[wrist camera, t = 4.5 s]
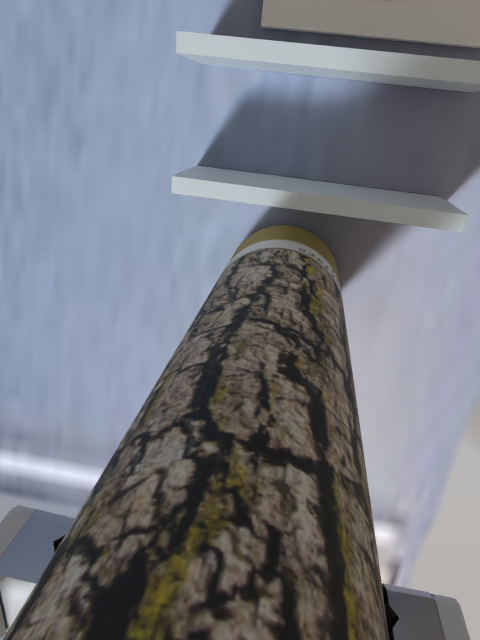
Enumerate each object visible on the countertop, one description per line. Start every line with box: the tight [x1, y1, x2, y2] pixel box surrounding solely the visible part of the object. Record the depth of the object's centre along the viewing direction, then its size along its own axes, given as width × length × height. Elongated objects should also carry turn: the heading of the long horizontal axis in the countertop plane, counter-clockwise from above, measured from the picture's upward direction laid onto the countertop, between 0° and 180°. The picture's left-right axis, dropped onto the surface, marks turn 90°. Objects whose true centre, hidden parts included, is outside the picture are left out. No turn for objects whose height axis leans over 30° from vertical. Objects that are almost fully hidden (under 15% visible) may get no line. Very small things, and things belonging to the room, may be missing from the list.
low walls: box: [171, 31, 480, 232], centre depth 22 cm, size 7×14×5 cm, turn 84°
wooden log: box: [3, 225, 389, 640], centre depth 17 cm, size 7×7×25 cm
